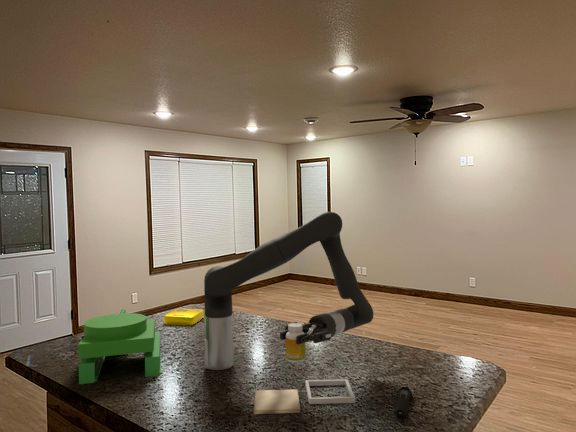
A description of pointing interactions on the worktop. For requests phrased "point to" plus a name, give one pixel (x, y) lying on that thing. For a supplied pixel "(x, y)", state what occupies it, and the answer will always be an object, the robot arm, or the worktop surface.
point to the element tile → (183, 316)
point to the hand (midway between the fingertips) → (289, 338)
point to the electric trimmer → (402, 401)
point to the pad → (276, 401)
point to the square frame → (329, 399)
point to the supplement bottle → (294, 344)
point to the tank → (118, 343)
